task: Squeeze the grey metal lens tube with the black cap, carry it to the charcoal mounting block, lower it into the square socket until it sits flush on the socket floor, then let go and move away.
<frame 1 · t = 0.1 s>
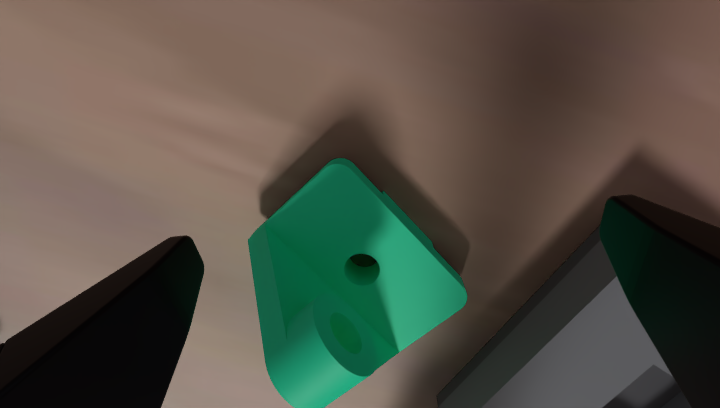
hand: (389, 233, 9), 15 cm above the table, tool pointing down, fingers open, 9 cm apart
mount block: (616, 375, 28), on the table
camera mount: (364, 249, 26), on the table
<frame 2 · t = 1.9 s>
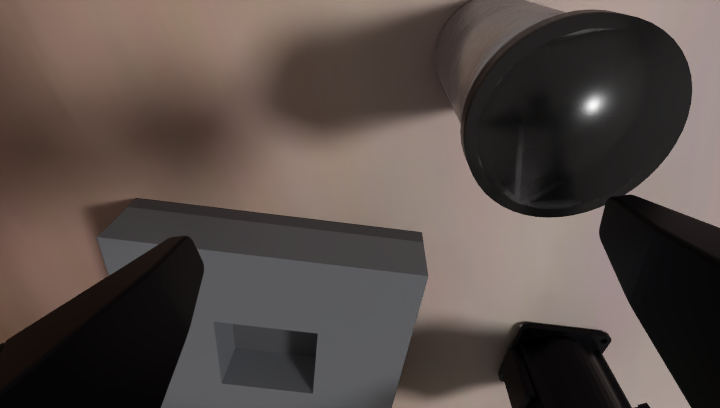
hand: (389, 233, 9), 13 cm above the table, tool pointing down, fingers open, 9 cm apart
lens tube: (487, 52, 19), on the table
mount block: (279, 313, 29), on the table
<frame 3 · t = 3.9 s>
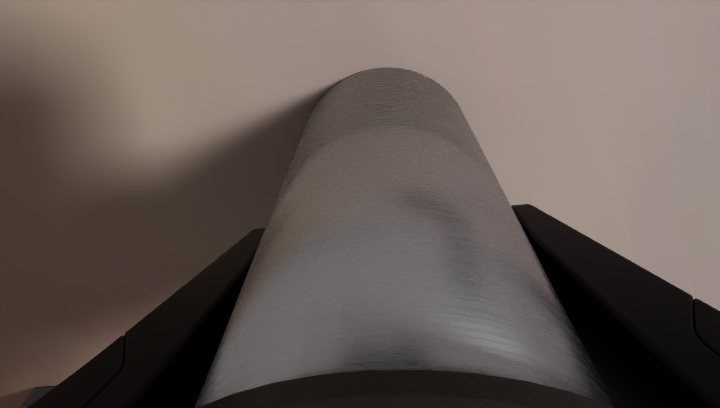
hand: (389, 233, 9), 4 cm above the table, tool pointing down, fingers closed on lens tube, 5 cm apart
lens tube: (385, 151, 12), on the table, touching gripper
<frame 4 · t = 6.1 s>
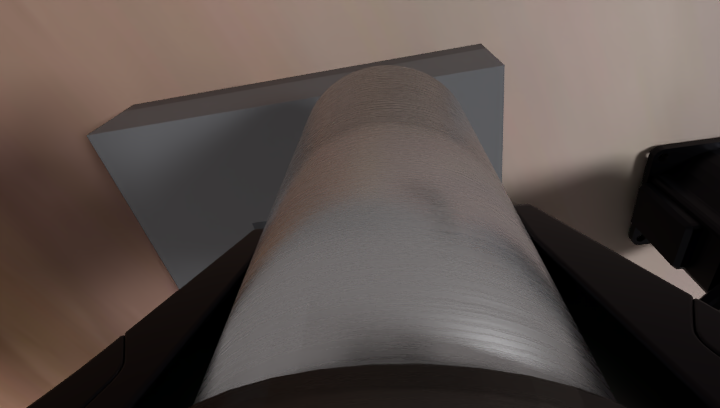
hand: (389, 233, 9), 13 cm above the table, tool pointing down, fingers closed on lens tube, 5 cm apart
lens tube: (385, 149, 12), point 9 cm above the table, touching gripper
mount block: (335, 220, 24), on the table
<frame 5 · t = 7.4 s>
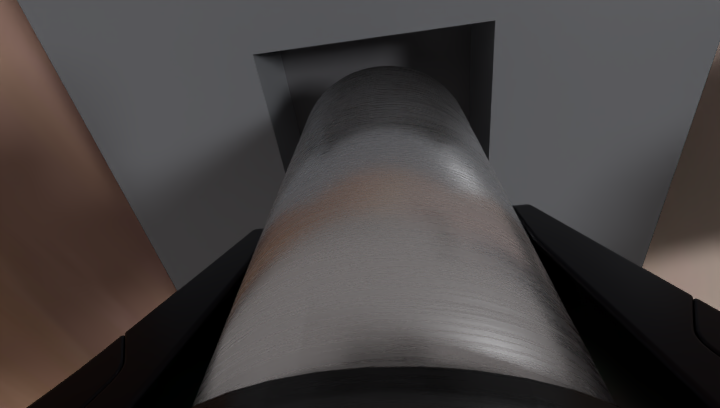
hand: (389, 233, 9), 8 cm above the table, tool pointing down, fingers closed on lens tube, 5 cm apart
lens tube: (385, 150, 12), point 4 cm above the table, touching gripper
mount block: (381, 105, 15), on the table
when the fingers open (5 cm above the table, at t = 8.3 s): lens tube stays where it is, resting on mount block.
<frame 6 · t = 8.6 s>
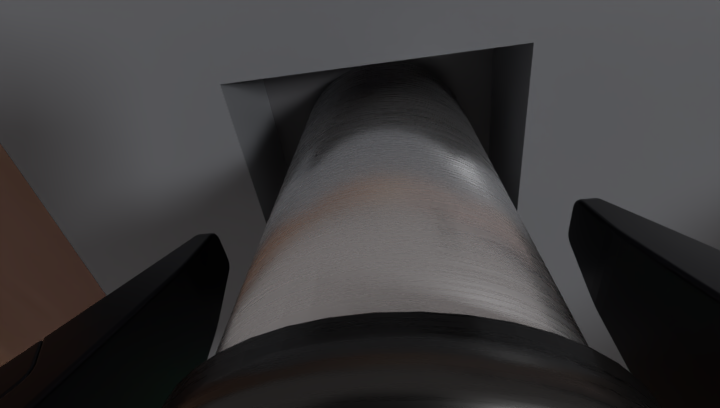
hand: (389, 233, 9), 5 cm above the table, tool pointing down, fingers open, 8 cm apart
lens tube: (385, 143, 12), point 1 cm above the table, touching mount block
mount block: (383, 133, 13), on the table
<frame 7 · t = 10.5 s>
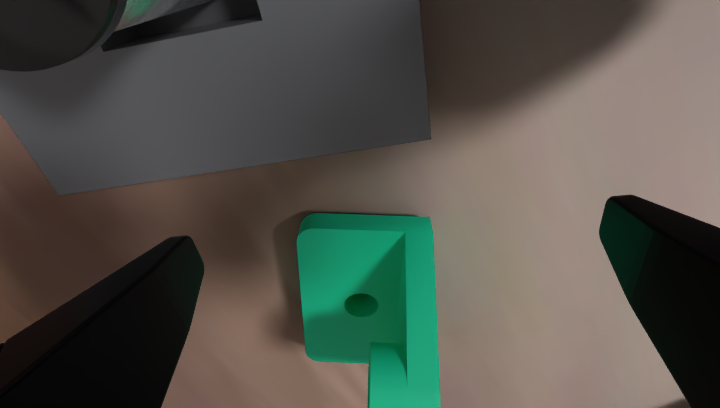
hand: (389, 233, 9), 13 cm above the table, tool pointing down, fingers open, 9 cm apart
camera mount: (362, 274, 27), on the table
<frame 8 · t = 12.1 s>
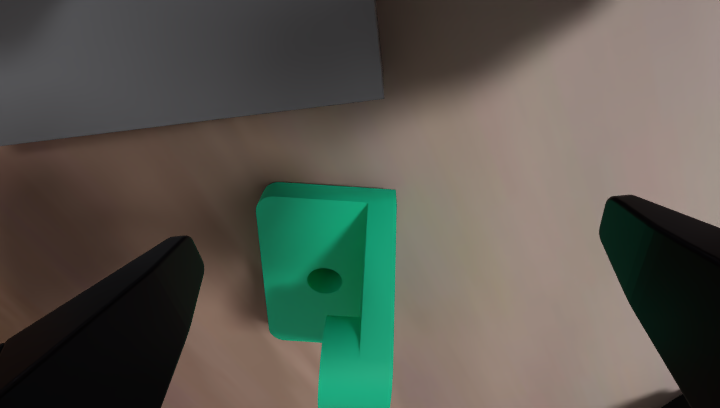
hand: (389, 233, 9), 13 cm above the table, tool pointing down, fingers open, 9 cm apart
camera mount: (329, 251, 26), on the table
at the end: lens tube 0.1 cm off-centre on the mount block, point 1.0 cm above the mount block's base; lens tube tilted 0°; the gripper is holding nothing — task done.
